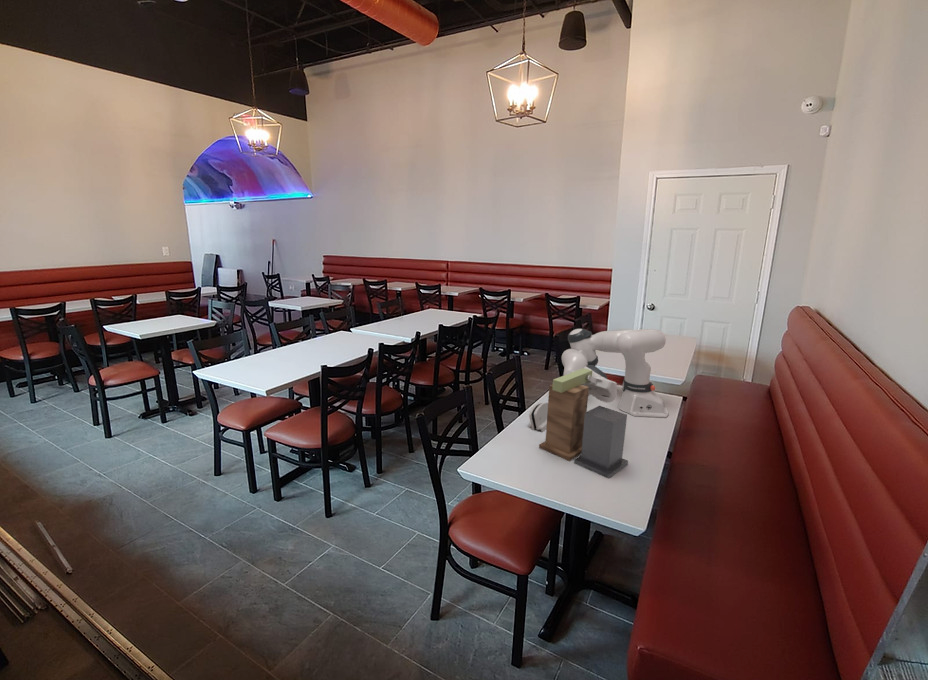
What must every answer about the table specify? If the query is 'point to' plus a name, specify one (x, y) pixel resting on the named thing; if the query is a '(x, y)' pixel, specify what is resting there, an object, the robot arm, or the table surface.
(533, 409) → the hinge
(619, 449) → the block
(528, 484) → the table surface
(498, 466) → the table surface
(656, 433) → the table surface
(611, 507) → the table surface
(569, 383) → the pale green plank
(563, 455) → the brown wooden pedestal
